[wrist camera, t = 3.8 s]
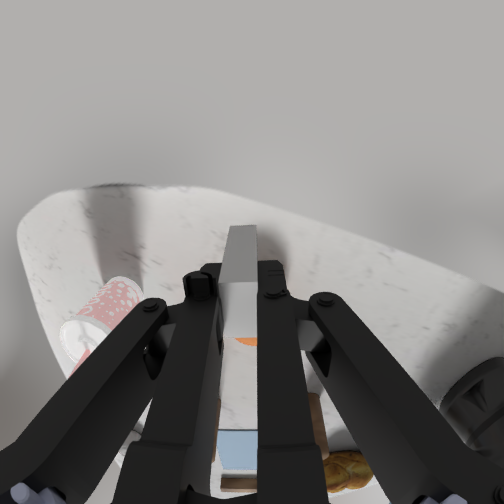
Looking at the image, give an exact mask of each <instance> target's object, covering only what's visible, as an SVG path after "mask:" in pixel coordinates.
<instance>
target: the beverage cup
mask: <svg viewBox="0 0 504 504" xmlns="http://www.w3.org/2000/svg"><path fill="white" fill-rule="evenodd" d="M143 300H144V295H143V293H142V291H141V288H140V287H139V286H138V285H137V284H136V283H135V282H134V281H132V280H130V279H128V278H127V277H120V276H118V277H114V278H112V279H111V280H110V281H109V282H107V283H106V284H105V285H104V287H103V288H102V289H101V290H100V291H99V292H98V293H97V294H96V295H95V296H94V297H93V298H92V299H91V300H90V301H89V302H88V303H87V304H86V305H85V306H84V307H83V308H82V309H81V310H80V311H79V312H78V313H77V314H76V316H71V317H70V318H69V319H68V320H67V321H66V322H65V323H64V324H63V326H62V327H61V329H60V340H61V343H62V347H63V348H64V350H65V351H66V353H67V354H68V356H69V357H70V358H71V359H72V360H73V361H74V362H75V363H76V364H77V365H76V366H75V368H74V370H73V371H72V373H71V375H72V374H73V373H74V372H75V371H76V369H77V368H78V367H79V366H80V365H81V364H82V363H83V362H84V361H85V359H86V358H87V357H88V356H89V355H90V354H91V353H92V352H93V351H94V350H95V349H96V347H97V346H98V345H99V344H100V343H101V342H102V341H103V340H104V339H105V338H106V337H107V336H108V334H109V333H110V332H111V331H112V330H113V329H114V328H115V327H116V326H117V325H118V324H119V323H120V322H121V321H122V320H123V318H124V317H125V316H126V315H127V314H128V313H129V312H130V311H131V310H132V309H133V308H134V307H135V306H136V305H137V304H138V303H139V302H141V301H143ZM71 375H70V376H71ZM70 376H69V377H70Z"/></svg>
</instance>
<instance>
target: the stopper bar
mask: <svg viewBox="0 0 504 504" xmlns="http://www.w3.org/2000/svg"><path fill="white" fill-rule="evenodd" d="M220 489H221V491H222V492H257V479H235V478H221V487H220Z"/></svg>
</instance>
